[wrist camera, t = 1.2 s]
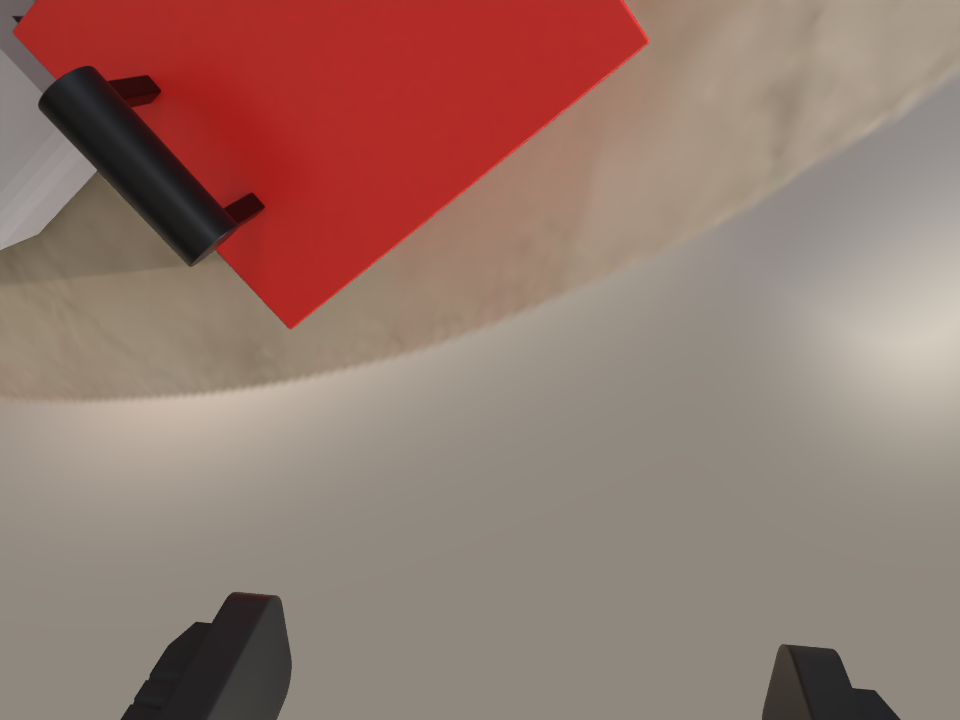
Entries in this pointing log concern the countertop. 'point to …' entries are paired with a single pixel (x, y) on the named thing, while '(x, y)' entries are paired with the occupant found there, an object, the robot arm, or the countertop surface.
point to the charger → (30, 140)
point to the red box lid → (310, 115)
